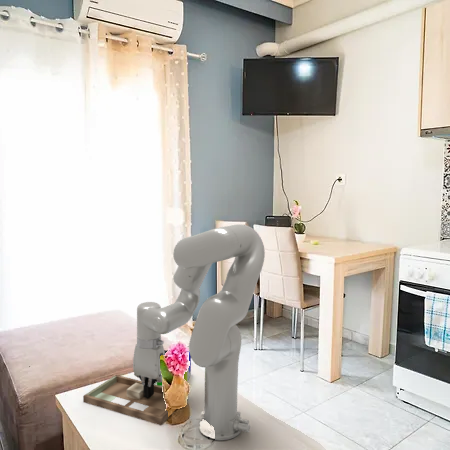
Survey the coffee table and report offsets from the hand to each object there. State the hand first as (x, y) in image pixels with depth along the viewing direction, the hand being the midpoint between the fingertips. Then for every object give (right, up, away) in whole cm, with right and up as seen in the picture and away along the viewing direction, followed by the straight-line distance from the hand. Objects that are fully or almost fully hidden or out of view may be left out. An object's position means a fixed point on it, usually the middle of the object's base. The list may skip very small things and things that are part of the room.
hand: (148, 395), depth 131 cm
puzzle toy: (+7, -1, +13) cm, 15 cm away
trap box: (-4, -2, -1) cm, 5 cm away
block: (-4, 0, +2) cm, 4 cm away
